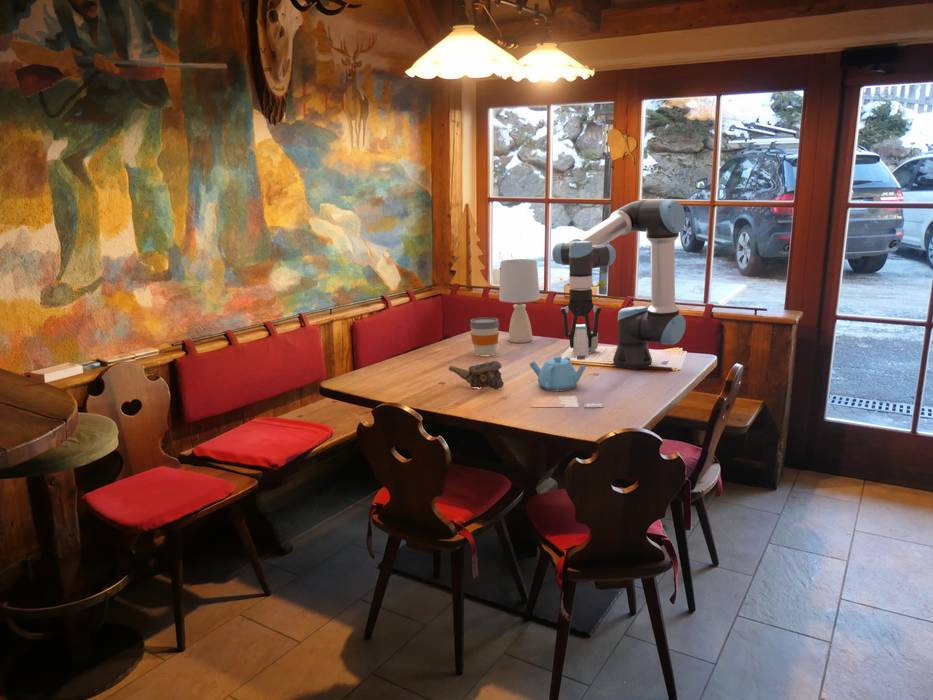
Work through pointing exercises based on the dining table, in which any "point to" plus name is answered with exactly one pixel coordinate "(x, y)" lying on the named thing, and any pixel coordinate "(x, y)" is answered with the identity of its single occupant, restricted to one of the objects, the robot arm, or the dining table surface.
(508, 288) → the lamp
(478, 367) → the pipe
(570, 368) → the teapot
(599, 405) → the word card
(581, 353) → the grey rectangular block
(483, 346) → the reusable coffee cup
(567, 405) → the paper
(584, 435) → the dining table surface
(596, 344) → the teacup
